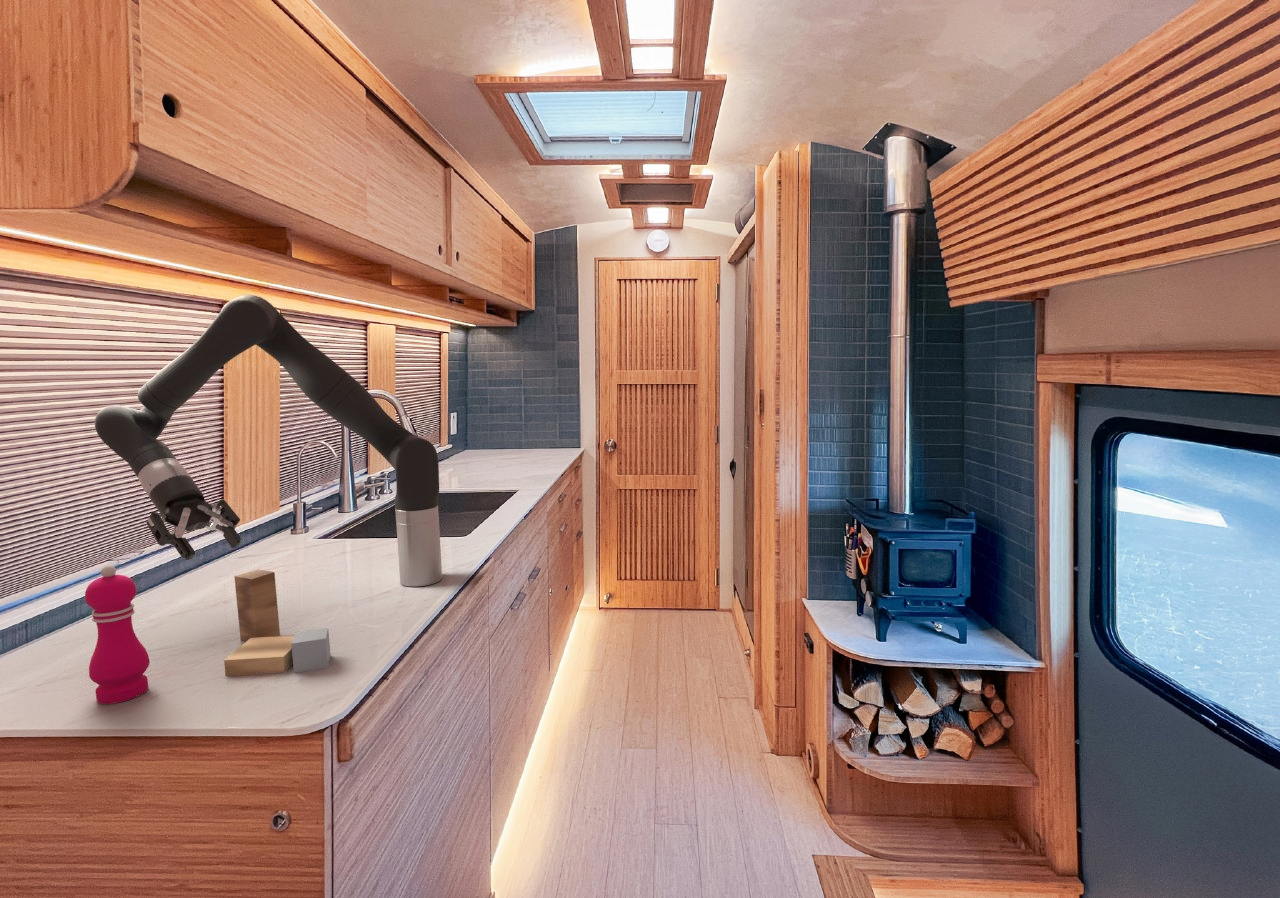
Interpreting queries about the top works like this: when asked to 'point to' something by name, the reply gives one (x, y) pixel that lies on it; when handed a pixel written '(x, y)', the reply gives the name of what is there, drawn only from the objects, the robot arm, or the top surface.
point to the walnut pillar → (257, 604)
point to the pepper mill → (116, 640)
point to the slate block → (311, 650)
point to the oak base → (261, 656)
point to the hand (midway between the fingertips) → (215, 551)
